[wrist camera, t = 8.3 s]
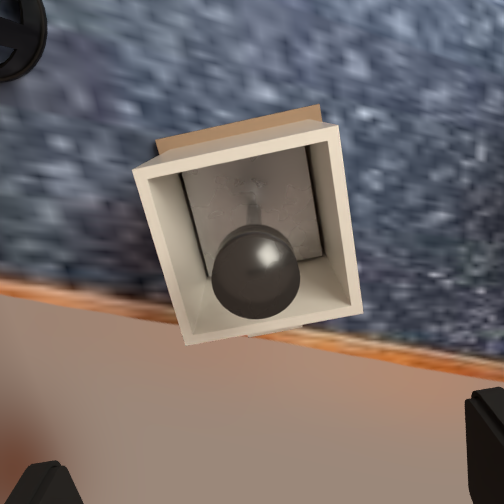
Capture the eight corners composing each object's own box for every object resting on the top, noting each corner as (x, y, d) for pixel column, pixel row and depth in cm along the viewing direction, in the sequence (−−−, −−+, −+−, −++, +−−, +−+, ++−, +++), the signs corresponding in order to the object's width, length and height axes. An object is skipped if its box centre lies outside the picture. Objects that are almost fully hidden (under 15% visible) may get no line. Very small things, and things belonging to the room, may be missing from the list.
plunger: (301, 137, 33) (340, 160, 19) (320, 252, 36) (365, 346, 22) (181, 163, 33) (131, 204, 19) (210, 274, 36) (185, 378, 22)
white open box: (317, 104, 35) (353, 102, 23) (340, 260, 40) (380, 329, 27) (157, 139, 36) (110, 156, 24) (198, 287, 41) (176, 366, 28)
